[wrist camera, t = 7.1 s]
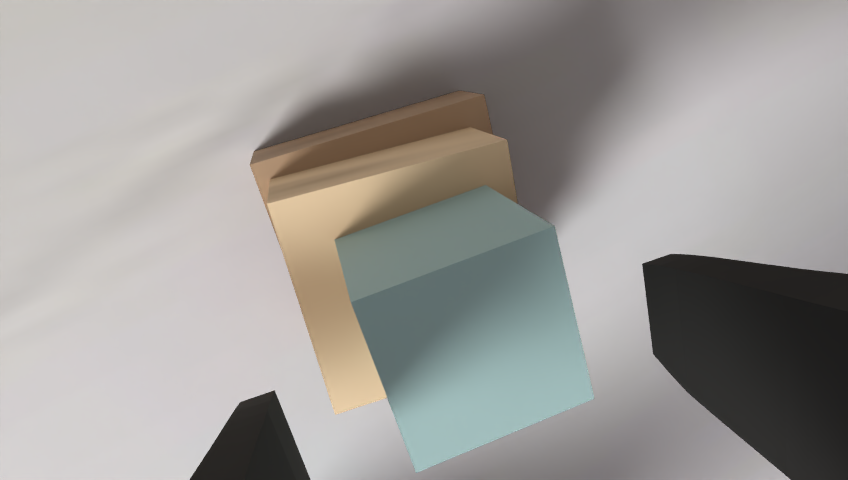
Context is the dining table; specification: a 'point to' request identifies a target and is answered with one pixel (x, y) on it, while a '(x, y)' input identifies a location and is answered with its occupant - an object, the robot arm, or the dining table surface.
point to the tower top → (356, 210)
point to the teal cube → (466, 321)
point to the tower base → (371, 136)
